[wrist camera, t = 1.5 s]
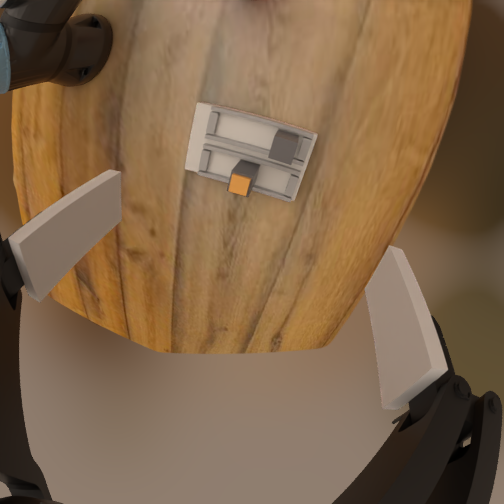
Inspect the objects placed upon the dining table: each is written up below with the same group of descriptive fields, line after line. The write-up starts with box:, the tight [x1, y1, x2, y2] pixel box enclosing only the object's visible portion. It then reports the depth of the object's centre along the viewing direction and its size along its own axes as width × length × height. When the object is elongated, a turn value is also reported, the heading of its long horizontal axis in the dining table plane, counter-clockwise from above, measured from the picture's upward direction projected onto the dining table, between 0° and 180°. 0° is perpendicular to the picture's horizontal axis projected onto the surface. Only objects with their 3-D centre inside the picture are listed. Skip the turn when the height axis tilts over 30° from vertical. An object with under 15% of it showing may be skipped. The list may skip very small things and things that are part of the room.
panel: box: [185, 102, 318, 202], centre depth 36 cm, size 18×11×8 cm, turn 75°
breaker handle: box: [227, 160, 260, 197], centre depth 37 cm, size 3×3×6 cm
